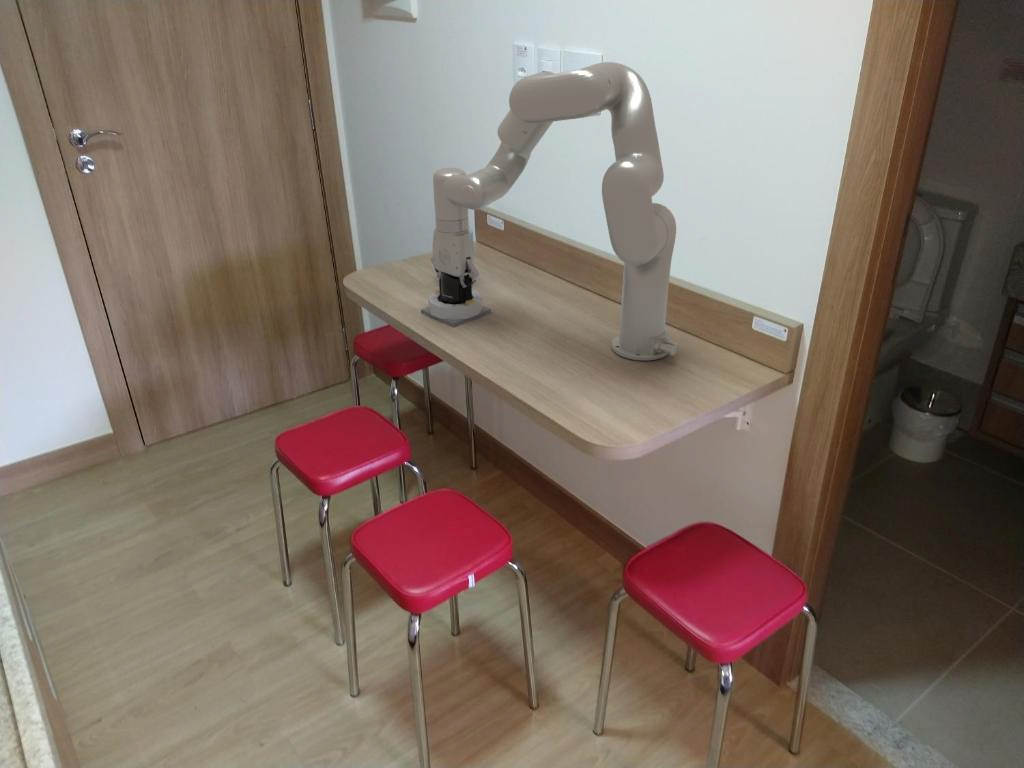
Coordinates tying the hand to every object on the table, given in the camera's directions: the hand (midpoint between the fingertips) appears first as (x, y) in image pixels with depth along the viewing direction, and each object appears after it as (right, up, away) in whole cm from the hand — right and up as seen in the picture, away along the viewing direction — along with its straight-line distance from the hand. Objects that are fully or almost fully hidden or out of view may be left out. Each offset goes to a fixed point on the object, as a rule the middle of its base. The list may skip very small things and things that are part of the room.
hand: (455, 296), depth 189 cm
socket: (0, -4, +2) cm, 4 cm away
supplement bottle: (0, -3, +2) cm, 3 cm away
